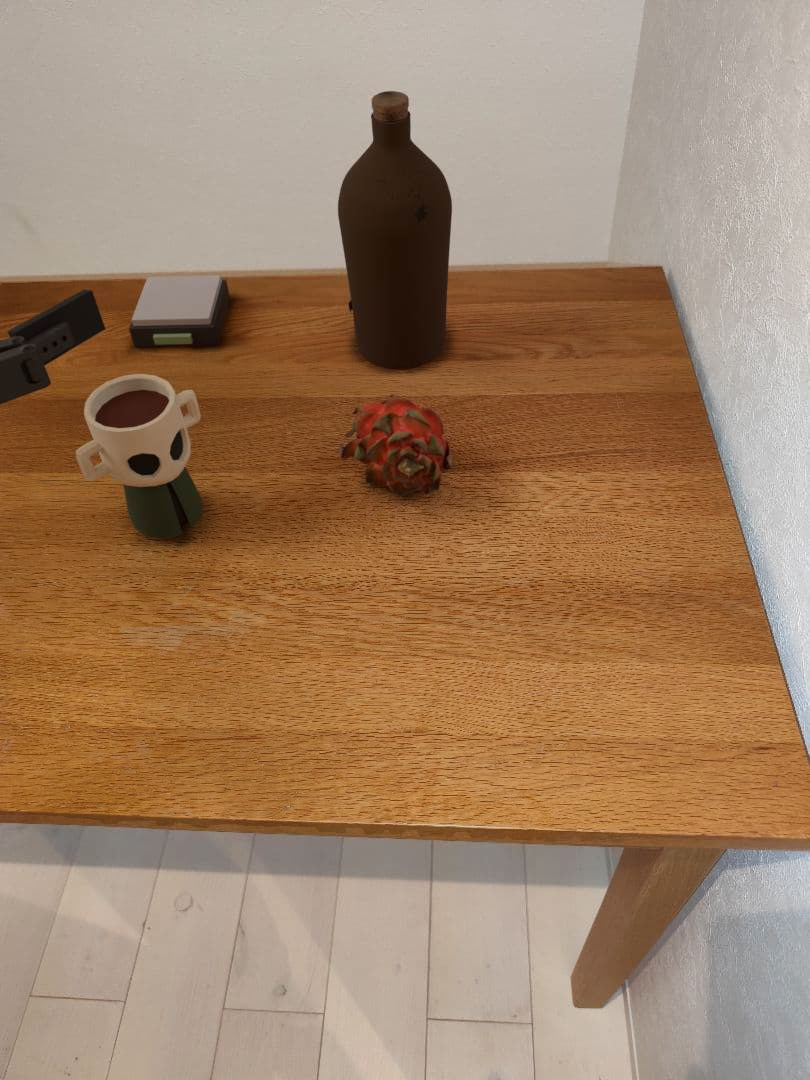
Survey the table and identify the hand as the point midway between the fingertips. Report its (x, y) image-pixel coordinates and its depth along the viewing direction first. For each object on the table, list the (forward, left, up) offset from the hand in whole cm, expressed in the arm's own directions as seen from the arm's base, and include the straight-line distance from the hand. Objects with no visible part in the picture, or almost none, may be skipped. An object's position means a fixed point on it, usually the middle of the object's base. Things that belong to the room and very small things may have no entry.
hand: (26, 300), depth 62 cm
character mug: (+5, 0, -22) cm, 23 cm away
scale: (+1, +29, -22) cm, 37 cm away
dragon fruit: (+25, +5, -22) cm, 34 cm away
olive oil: (+25, +25, -22) cm, 42 cm away
